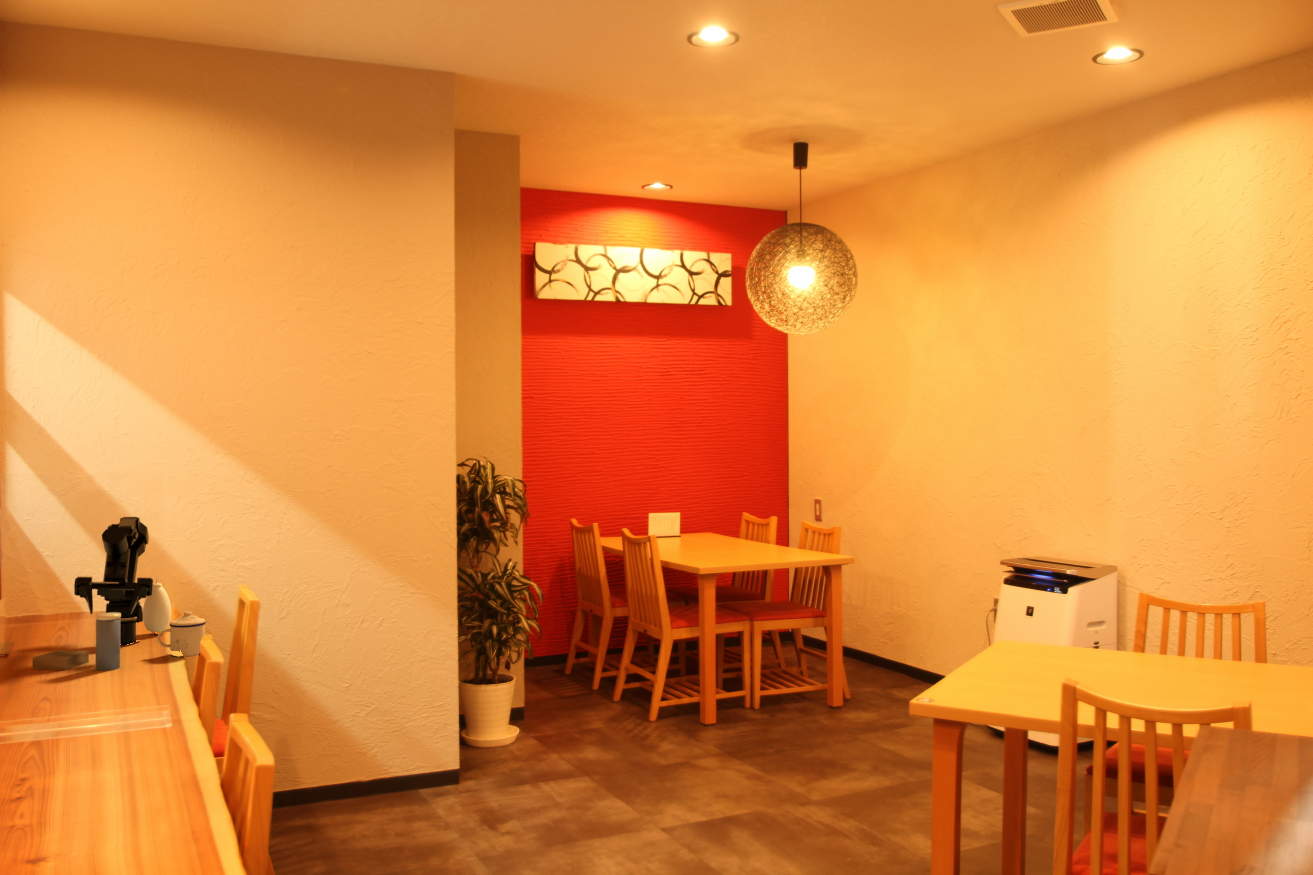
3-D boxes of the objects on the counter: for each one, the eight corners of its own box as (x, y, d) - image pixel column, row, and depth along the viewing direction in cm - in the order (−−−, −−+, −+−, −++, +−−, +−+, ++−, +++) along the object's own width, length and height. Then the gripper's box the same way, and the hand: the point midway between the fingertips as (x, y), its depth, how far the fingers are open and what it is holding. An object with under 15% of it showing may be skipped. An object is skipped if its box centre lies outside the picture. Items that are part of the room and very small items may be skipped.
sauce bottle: (143, 632, 303) (143, 574, 303) (171, 630, 306) (171, 572, 306) (141, 637, 296) (142, 577, 296) (170, 635, 299) (171, 576, 299)
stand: (57, 661, 264) (57, 649, 264) (88, 662, 263) (88, 650, 263) (32, 668, 255) (32, 657, 255) (64, 669, 254) (64, 658, 254)
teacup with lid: (204, 649, 280) (204, 608, 280) (206, 655, 272) (206, 613, 272) (157, 653, 274) (157, 611, 274) (157, 659, 266) (158, 616, 266)
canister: (105, 665, 259) (105, 612, 259) (125, 666, 259) (125, 612, 259) (89, 670, 253) (90, 615, 254) (110, 671, 253) (111, 616, 253)
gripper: (153, 580, 283) (148, 628, 274) (78, 579, 275) (71, 628, 266) (155, 558, 276) (150, 607, 266) (78, 557, 268) (70, 607, 258)
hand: (111, 613), depth 264 cm, fingers open, 9 cm apart
